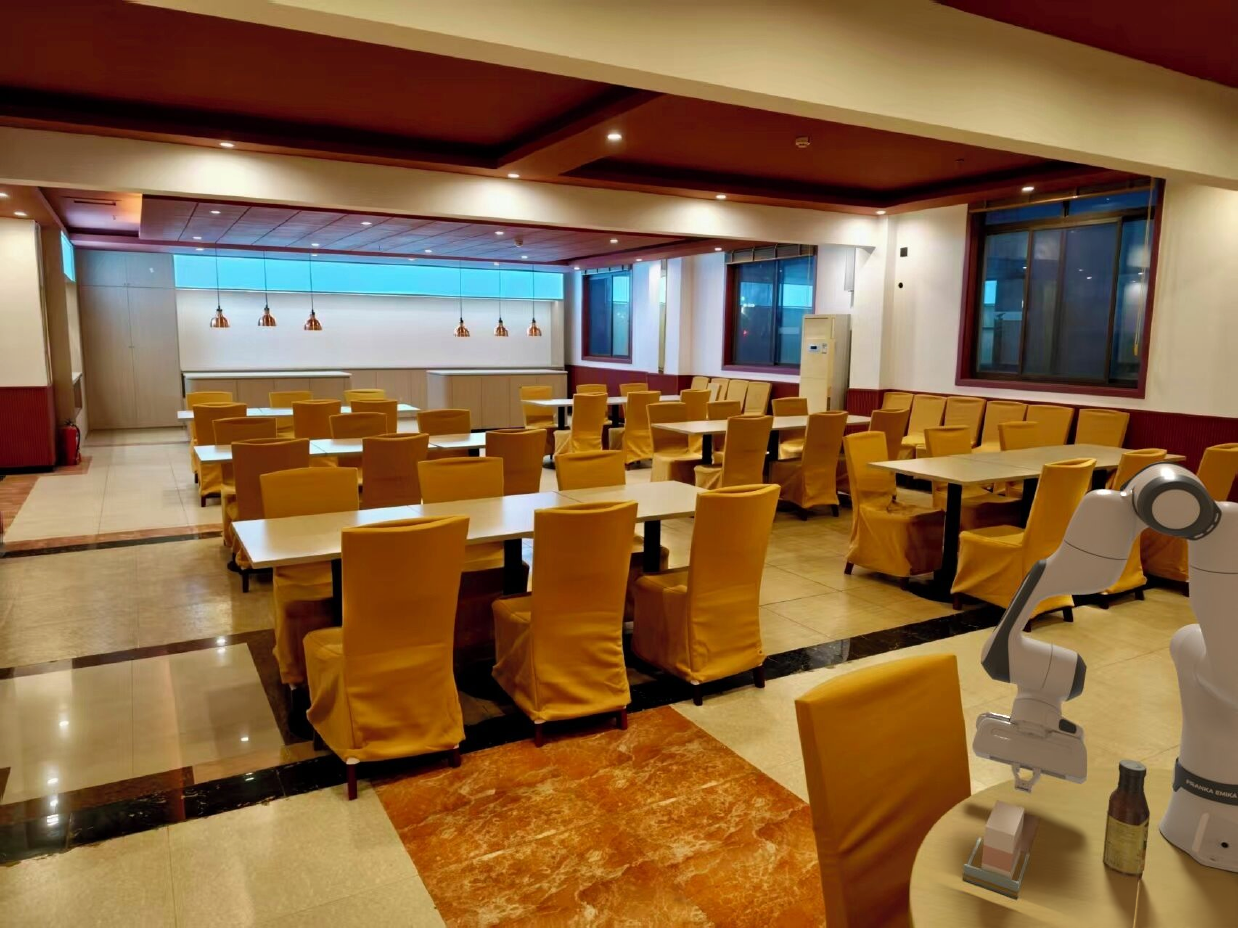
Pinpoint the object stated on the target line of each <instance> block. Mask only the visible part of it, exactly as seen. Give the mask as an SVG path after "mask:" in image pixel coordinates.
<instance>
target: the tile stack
mask: <svg viewBox="0 0 1238 928" xmlns="http://www.w3.org/2000/svg"><path fill="white" fill-rule="evenodd" d="M1025 809H1026V808H1025V807H1022V806H1018V805H1015V804H1012V803H1010V802H1009V803H1008V802H1005V801H1001V800H998V799H997V800H996V801H995V804H994V806H993V809H992V810H991V813H990V814H989V817H988V819H987V822H986V824H985V827H984V837H983V838H984V839H983V848H982V859H981V866H980V867H981V868H980V869H982V870H985V871H988V872H991V873H994V874H997V875H1000V876H1003V877H1006V878H1009V879H1011V880H1013V877H1014V874H1015V870H1016V869H1017V865H1018V862H1019V859H1020V857H1021V851H1020V850H1021V840H1022V830H1023V820H1024V813H1025Z"/></svg>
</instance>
